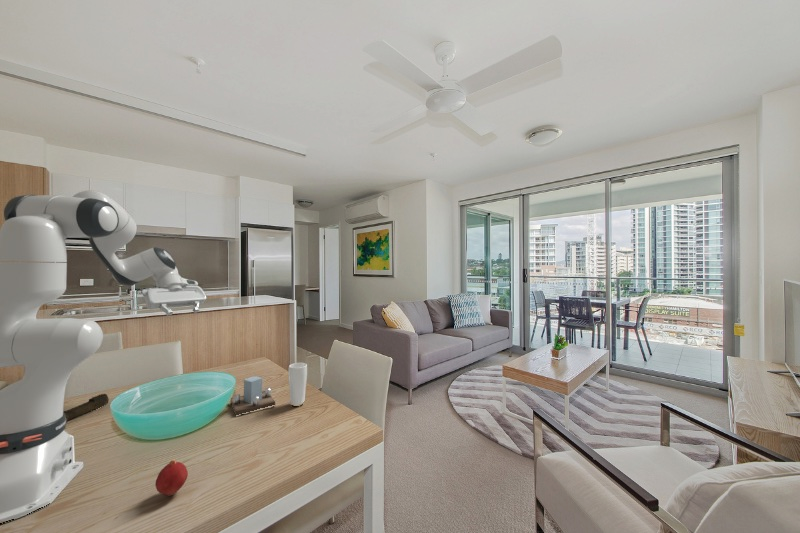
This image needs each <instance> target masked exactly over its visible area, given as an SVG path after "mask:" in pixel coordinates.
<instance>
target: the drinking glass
mask: <svg viewBox="0 0 800 533" xmlns="http://www.w3.org/2000/svg"><path fill="white" fill-rule="evenodd" d="M307 378H308V364H307V363H305V362H295V363H291V364H289V366H288V386H289V388H288V390H289V405H290V404H292V405H299V404H302V403H303V402H304V401H305V400H306V390H307V389H306V388H307V380H308V379H307Z"/></svg>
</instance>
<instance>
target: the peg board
mask: <svg viewBox="0 0 800 533" xmlns="http://www.w3.org/2000/svg"><path fill="white" fill-rule="evenodd" d="M231 403H232V405H231V407H232V406H233V407H232V409H233V408H234V410H233V412H234V411H235V412H234V414H235V413H236V415H239V414H242V413H246V412H250V411H254V410H257V409H260V408H265V407H268V406H272V405H275V406H276V400H274V398H273V397H272V388H271V387H266V388H265V390H262V399H261V400H259V396H254V397H253V403H248V402H245V401H244V394H243V395H241V394H239V393H237V394H234V395H233V397H231V398H230V404H231ZM236 415H235V416H236Z"/></svg>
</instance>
